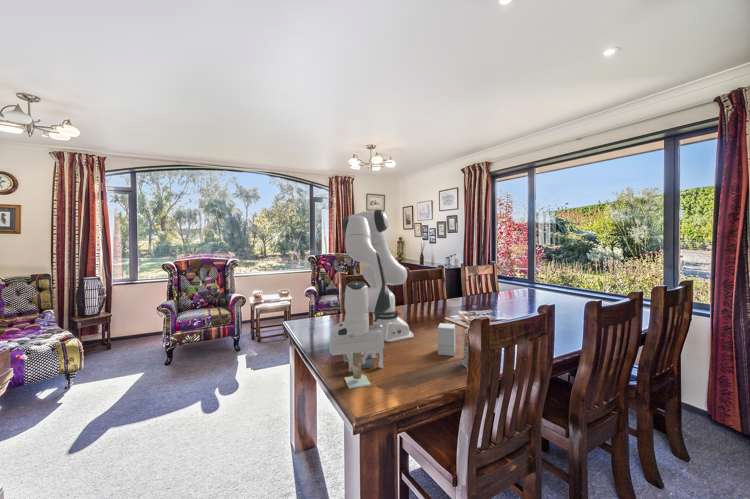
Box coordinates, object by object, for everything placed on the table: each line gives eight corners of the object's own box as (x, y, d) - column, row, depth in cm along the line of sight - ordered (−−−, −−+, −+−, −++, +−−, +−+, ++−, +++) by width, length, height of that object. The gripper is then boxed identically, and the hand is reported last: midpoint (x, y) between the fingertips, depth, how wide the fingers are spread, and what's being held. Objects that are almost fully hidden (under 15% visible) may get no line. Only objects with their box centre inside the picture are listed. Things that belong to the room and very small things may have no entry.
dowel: (360, 375, 119) (359, 348, 118) (362, 378, 116) (362, 351, 115) (352, 376, 118) (352, 349, 117) (354, 379, 115) (353, 352, 114)
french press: (472, 371, 126) (472, 308, 125) (453, 360, 137) (454, 303, 135) (491, 366, 130) (492, 306, 129) (471, 356, 141) (472, 300, 139)
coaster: (364, 376, 122) (364, 374, 122) (370, 385, 114) (370, 384, 114) (344, 378, 120) (344, 377, 120) (348, 388, 112) (348, 387, 112)
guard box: (374, 356, 141) (374, 340, 140) (383, 367, 129) (383, 350, 129) (343, 360, 137) (343, 344, 136) (349, 372, 125) (349, 354, 125)
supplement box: (455, 350, 148) (455, 324, 147) (454, 356, 141) (454, 328, 140) (439, 348, 150) (439, 322, 150) (437, 354, 143) (437, 327, 143)
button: (367, 361, 135) (367, 354, 135) (369, 365, 131) (369, 358, 130) (356, 362, 133) (356, 355, 133) (359, 366, 129) (359, 359, 129)
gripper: (381, 321, 122) (381, 357, 123) (327, 326, 116) (328, 363, 117) (386, 326, 116) (386, 363, 117) (330, 331, 110) (331, 370, 111)
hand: (357, 363), depth 117 cm, fingers closed on dowel, 3 cm apart
